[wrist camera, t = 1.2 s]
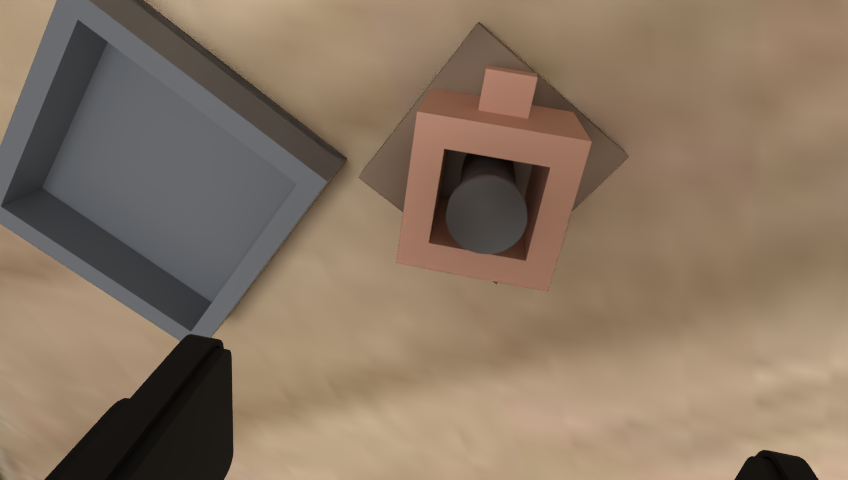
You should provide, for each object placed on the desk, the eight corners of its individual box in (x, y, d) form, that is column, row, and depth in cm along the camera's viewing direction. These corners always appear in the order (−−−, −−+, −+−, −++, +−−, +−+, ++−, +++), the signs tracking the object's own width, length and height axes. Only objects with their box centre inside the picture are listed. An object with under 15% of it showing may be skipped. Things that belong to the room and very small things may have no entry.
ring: (583, 75, 23) (604, 97, 18) (538, 239, 26) (548, 291, 22) (437, 50, 23) (423, 66, 19) (412, 216, 27) (396, 263, 22)
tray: (346, 158, 27) (327, 181, 24) (227, 317, 32) (198, 353, 29) (119, -18, 24) (64, -19, 21) (31, 184, 30) (-24, 208, 27)
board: (623, 150, 25) (668, 206, 19) (496, 274, 29) (496, 356, 22) (478, 22, 23) (473, 35, 17) (362, 171, 27) (322, 228, 21)
